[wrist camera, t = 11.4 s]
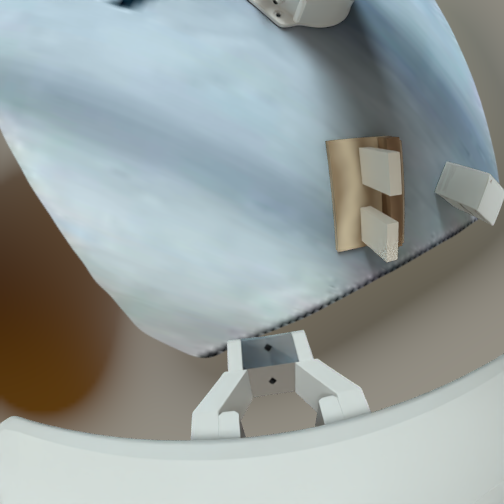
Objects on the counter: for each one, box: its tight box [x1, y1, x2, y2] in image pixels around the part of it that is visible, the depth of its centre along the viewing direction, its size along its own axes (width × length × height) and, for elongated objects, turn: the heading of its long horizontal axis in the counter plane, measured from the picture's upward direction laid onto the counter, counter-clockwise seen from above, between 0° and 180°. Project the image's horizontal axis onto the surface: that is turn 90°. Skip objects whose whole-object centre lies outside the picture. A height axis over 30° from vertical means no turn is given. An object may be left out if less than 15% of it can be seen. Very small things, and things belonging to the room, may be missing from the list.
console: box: [325, 136, 404, 252], centre depth 44 cm, size 12×19×4 cm, turn 10°
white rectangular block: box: [360, 206, 399, 262], centre depth 42 cm, size 2×6×9 cm, turn 10°
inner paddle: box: [359, 147, 402, 196], centre depth 38 cm, size 2×6×9 cm, turn 10°
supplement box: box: [435, 162, 504, 225], centre depth 41 cm, size 7×7×13 cm
